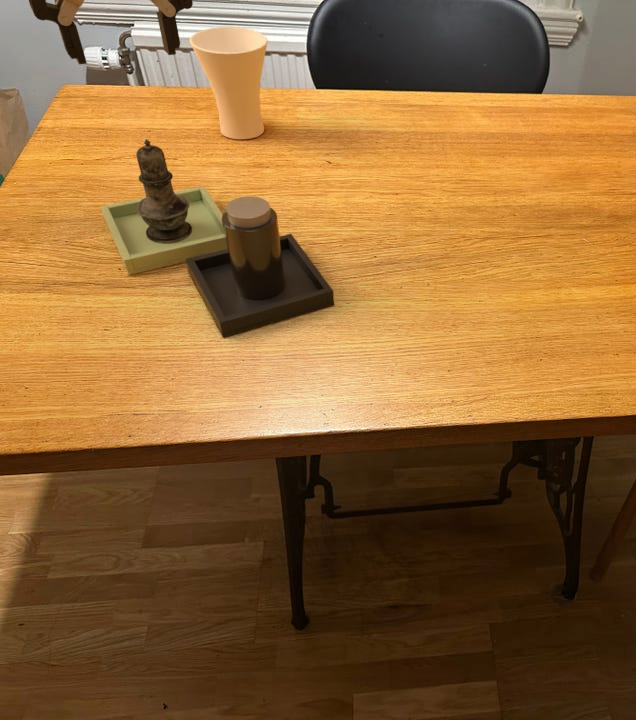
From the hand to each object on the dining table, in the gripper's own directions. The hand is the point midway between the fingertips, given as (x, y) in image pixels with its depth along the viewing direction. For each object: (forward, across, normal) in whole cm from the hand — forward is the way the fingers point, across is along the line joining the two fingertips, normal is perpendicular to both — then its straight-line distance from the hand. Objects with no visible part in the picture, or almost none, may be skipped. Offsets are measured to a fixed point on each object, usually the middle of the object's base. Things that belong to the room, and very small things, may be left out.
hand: (127, 56), depth 71 cm
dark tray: (+22, +6, -15) cm, 27 cm away
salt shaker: (+21, 0, 0) cm, 21 cm away
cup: (+22, +17, +24) cm, 36 cm away
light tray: (+22, 0, 0) cm, 22 cm away
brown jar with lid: (+21, +6, -15) cm, 26 cm away
